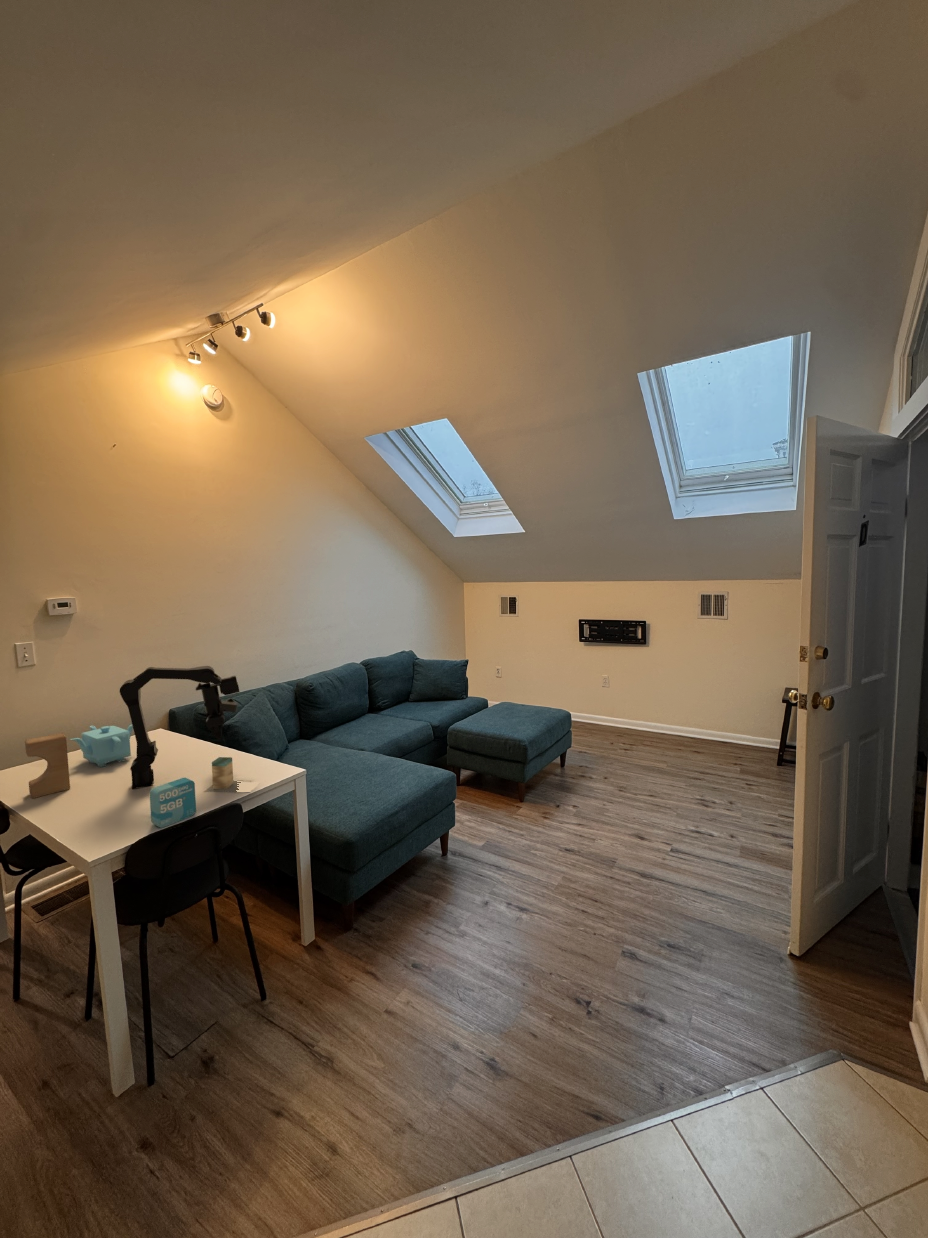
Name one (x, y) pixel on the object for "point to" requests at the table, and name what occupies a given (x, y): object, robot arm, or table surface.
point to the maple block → (222, 772)
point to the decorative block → (49, 764)
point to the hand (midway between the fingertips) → (219, 736)
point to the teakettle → (105, 744)
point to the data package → (172, 802)
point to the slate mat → (229, 789)
